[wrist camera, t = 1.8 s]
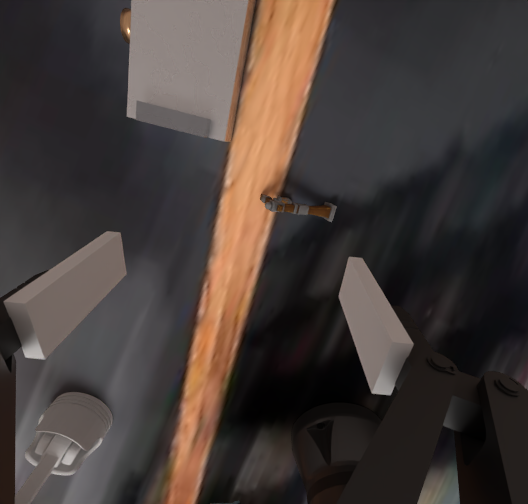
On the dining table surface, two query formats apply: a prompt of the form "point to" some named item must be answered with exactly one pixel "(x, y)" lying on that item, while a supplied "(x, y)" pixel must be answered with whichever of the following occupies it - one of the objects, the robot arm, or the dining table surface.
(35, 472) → the engine component
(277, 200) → the wooden post with brackets
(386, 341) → the robot arm
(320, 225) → the dining table surface
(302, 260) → the dining table surface
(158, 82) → the machine vise
